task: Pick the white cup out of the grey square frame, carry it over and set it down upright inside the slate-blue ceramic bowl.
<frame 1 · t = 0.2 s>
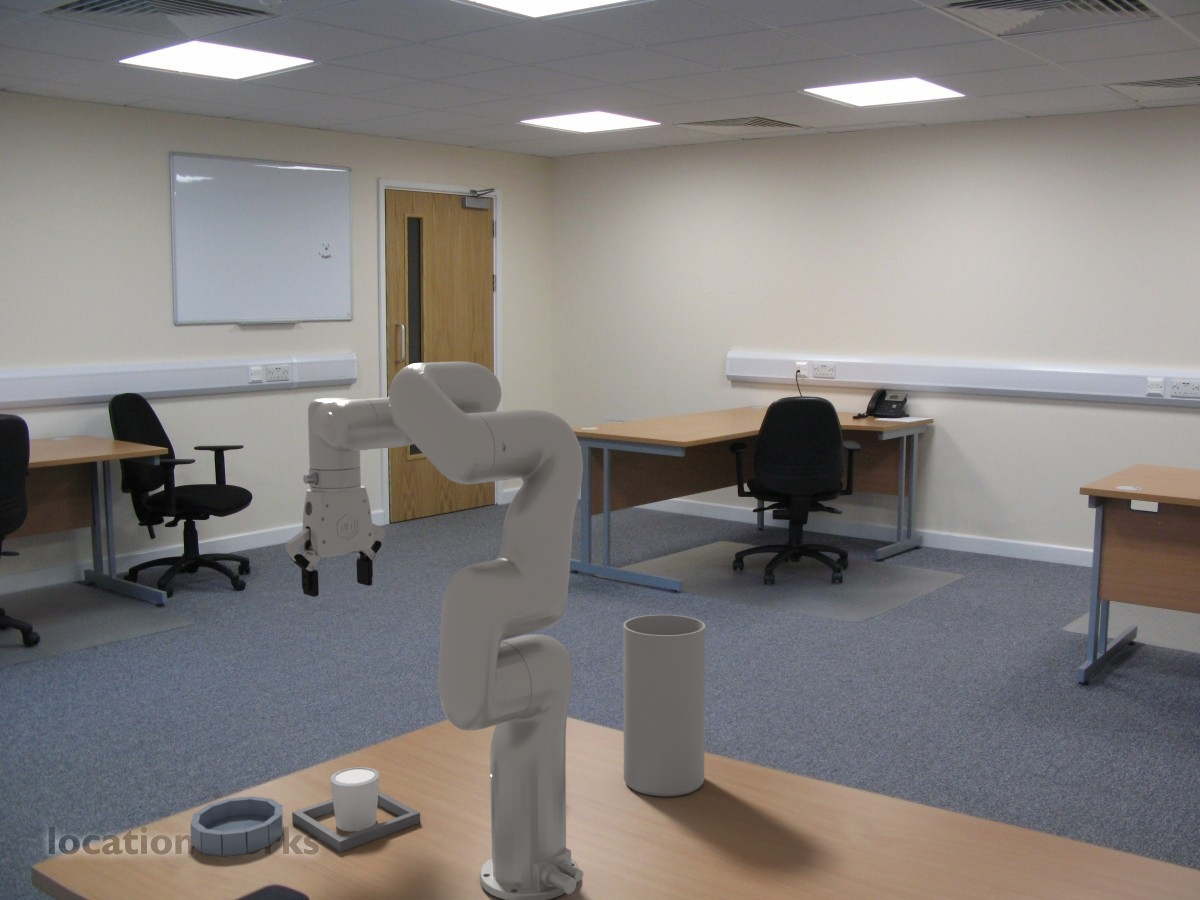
hand: (338, 589, 170), 30 cm above the table, tool pointing down, fingers open, 9 cm apart
bowl: (238, 835, 155), on the table
grey square frame: (356, 822, 159), on the table
cylinder vase: (663, 783, 172), on the table
white cup: (356, 824, 159), resting in grey square frame
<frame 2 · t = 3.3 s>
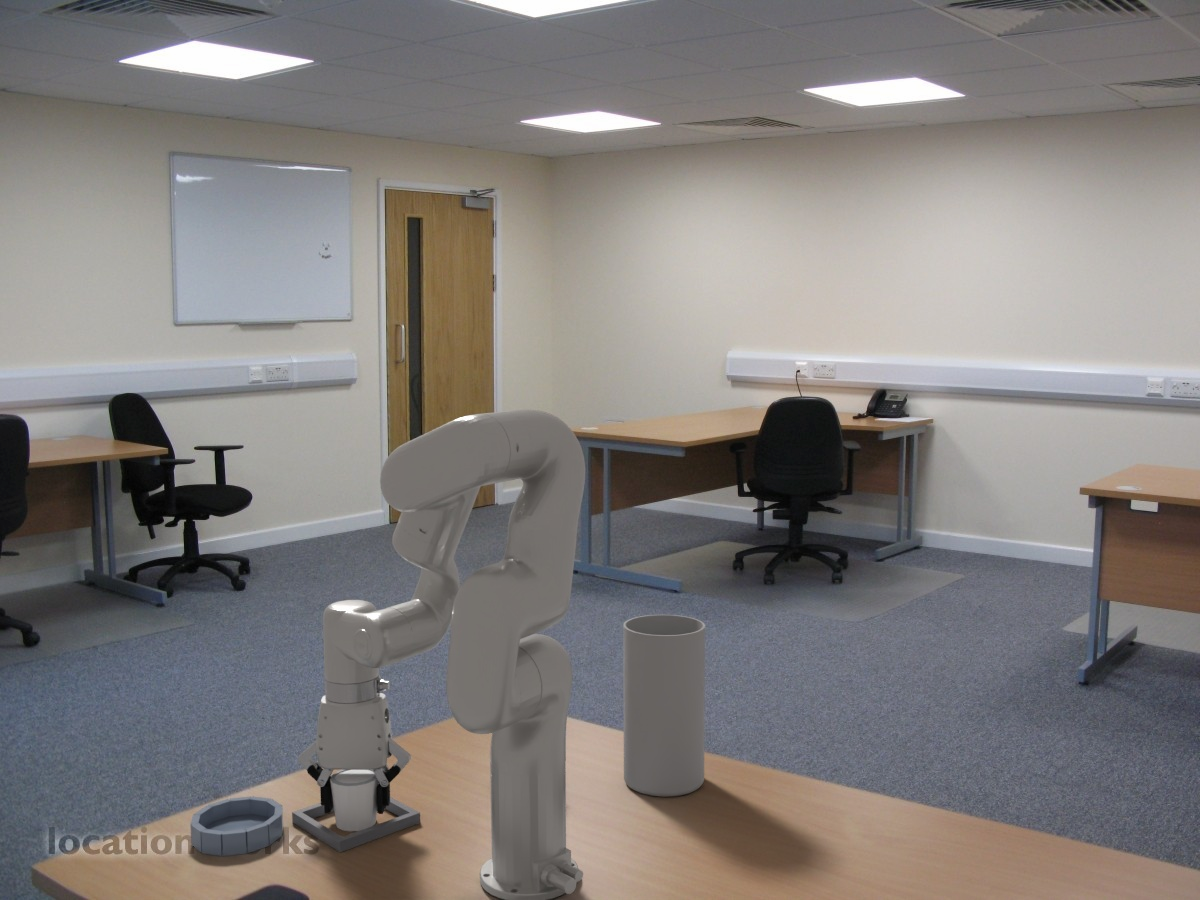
hand: (355, 808, 158), 2 cm above the table, tool pointing down, fingers closed on white cup, 6 cm apart
white cup: (356, 824, 159), resting in grey square frame, touching gripper
everything else where it was.
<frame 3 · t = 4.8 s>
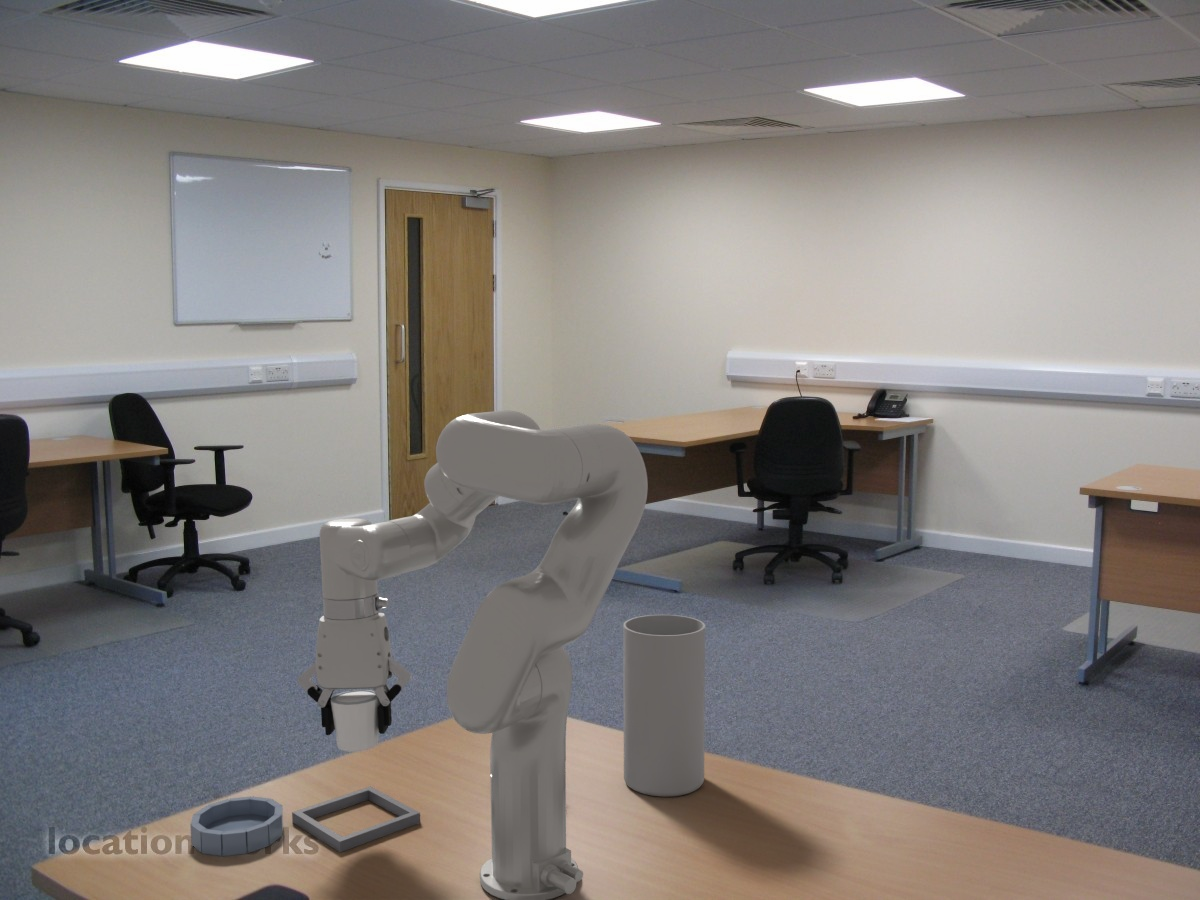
hand: (357, 730, 157), 14 cm above the table, tool pointing down, fingers closed on white cup, 6 cm apart
white cup: (358, 745, 157), point 12 cm above the table, touching gripper
everything else where it was.
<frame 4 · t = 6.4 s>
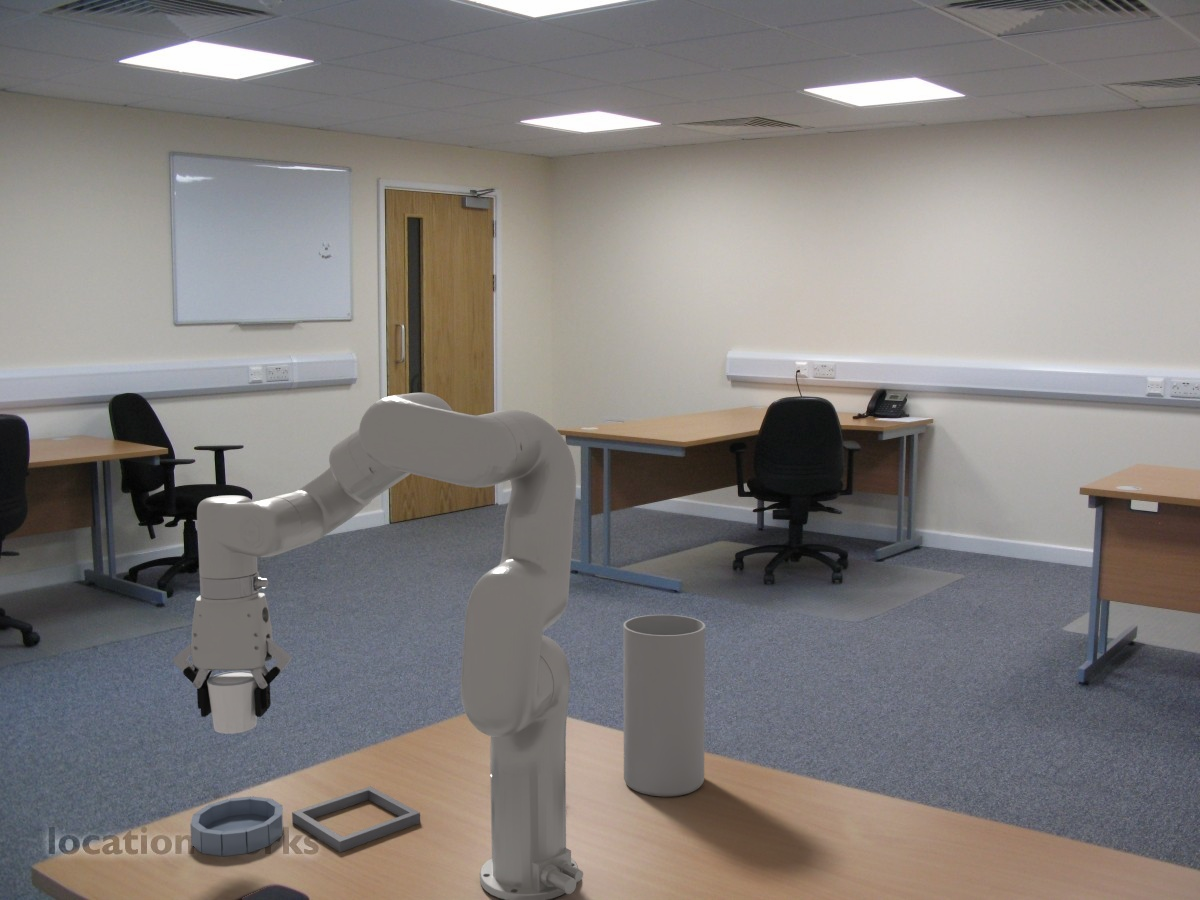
hand: (234, 712, 153), 18 cm above the table, tool pointing down, fingers closed on white cup, 6 cm apart
white cup: (235, 728, 153), point 15 cm above the table, touching gripper
everything else where it was.
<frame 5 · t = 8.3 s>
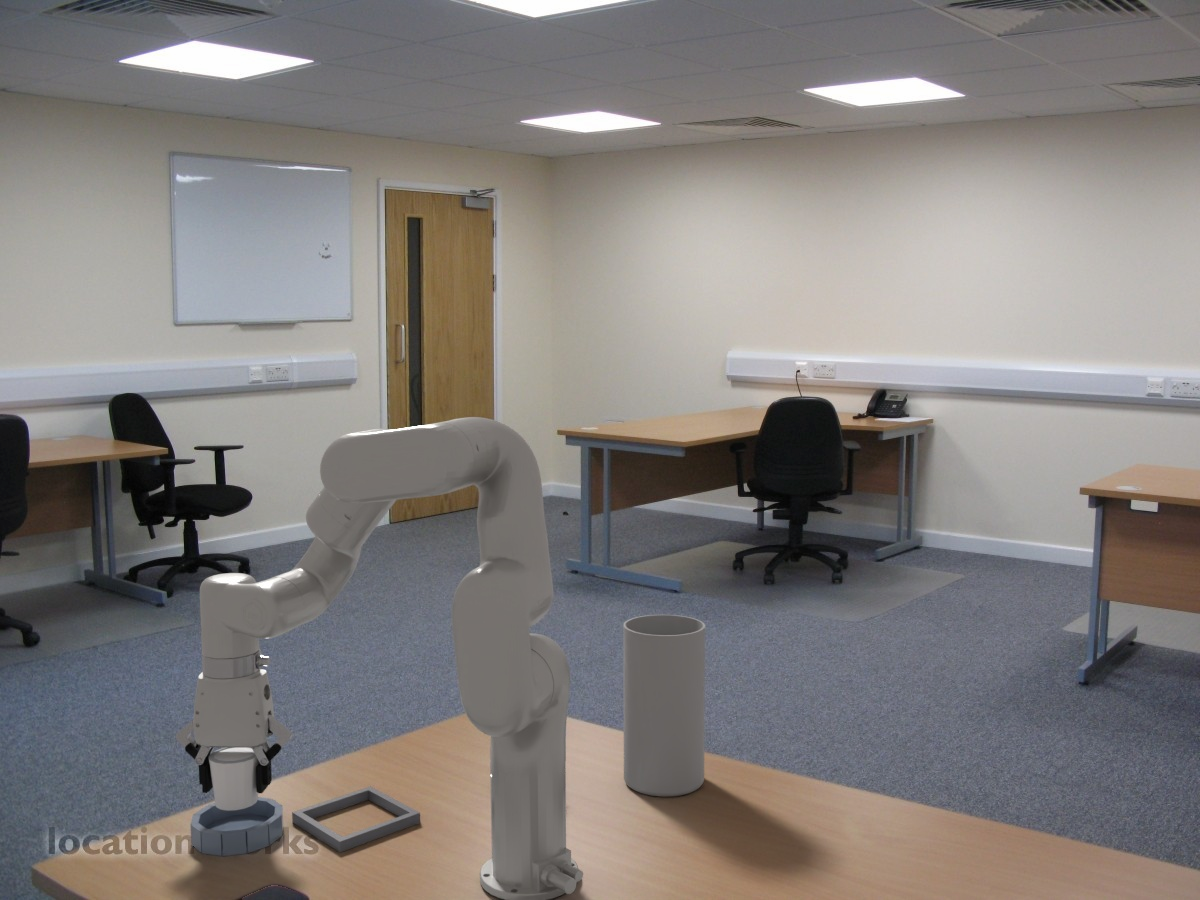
hand: (235, 788, 154), 7 cm above the table, tool pointing down, fingers closed on white cup, 6 cm apart
white cup: (236, 803, 154), point 5 cm above the table, touching gripper
everything else where it was.
when the fingers open (4 cm above the table, at t = 9.9 s): white cup drops 1 cm, resting on bowl.
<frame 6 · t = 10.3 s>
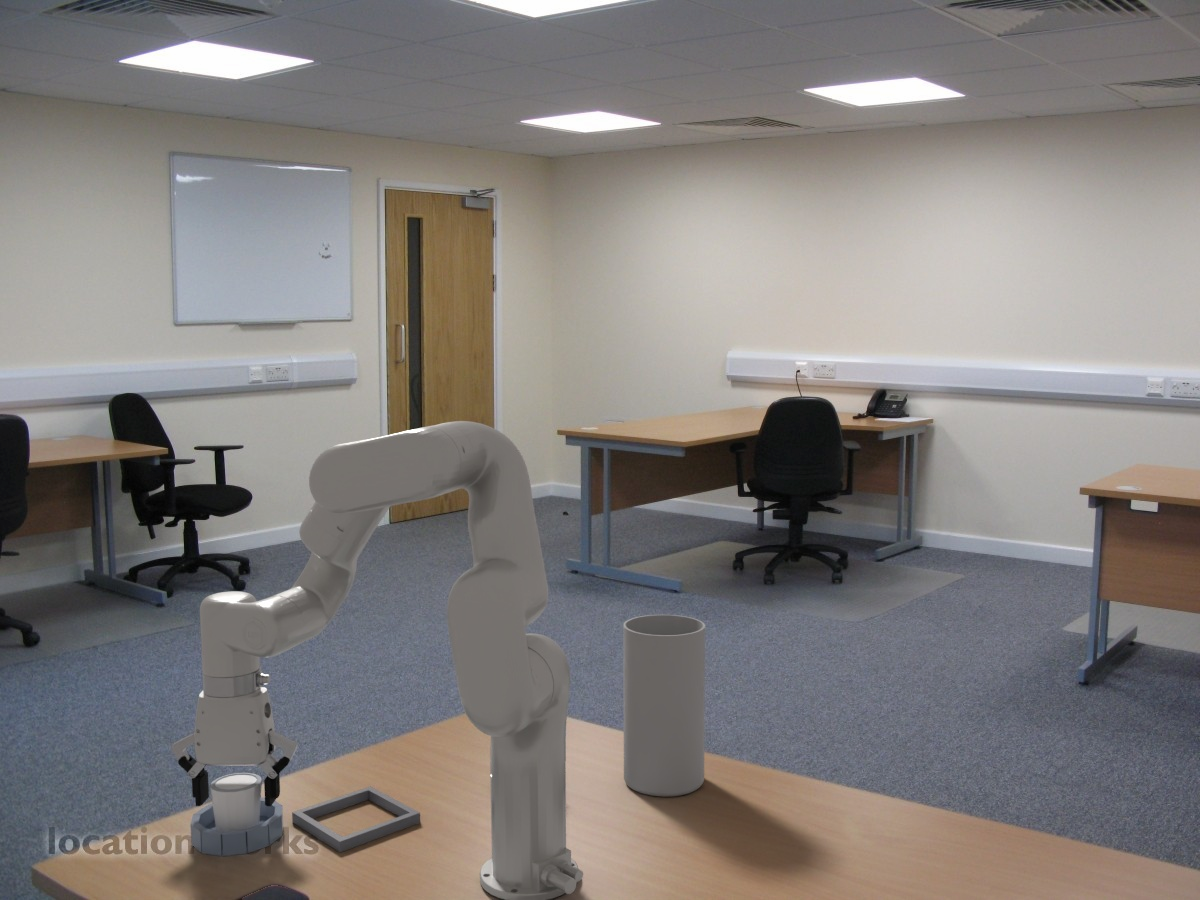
hand: (236, 802, 154), 5 cm above the table, tool pointing down, fingers open, 9 cm apart
white cup: (237, 831, 155), point 1 cm above the table, touching bowl
everything else where it was.
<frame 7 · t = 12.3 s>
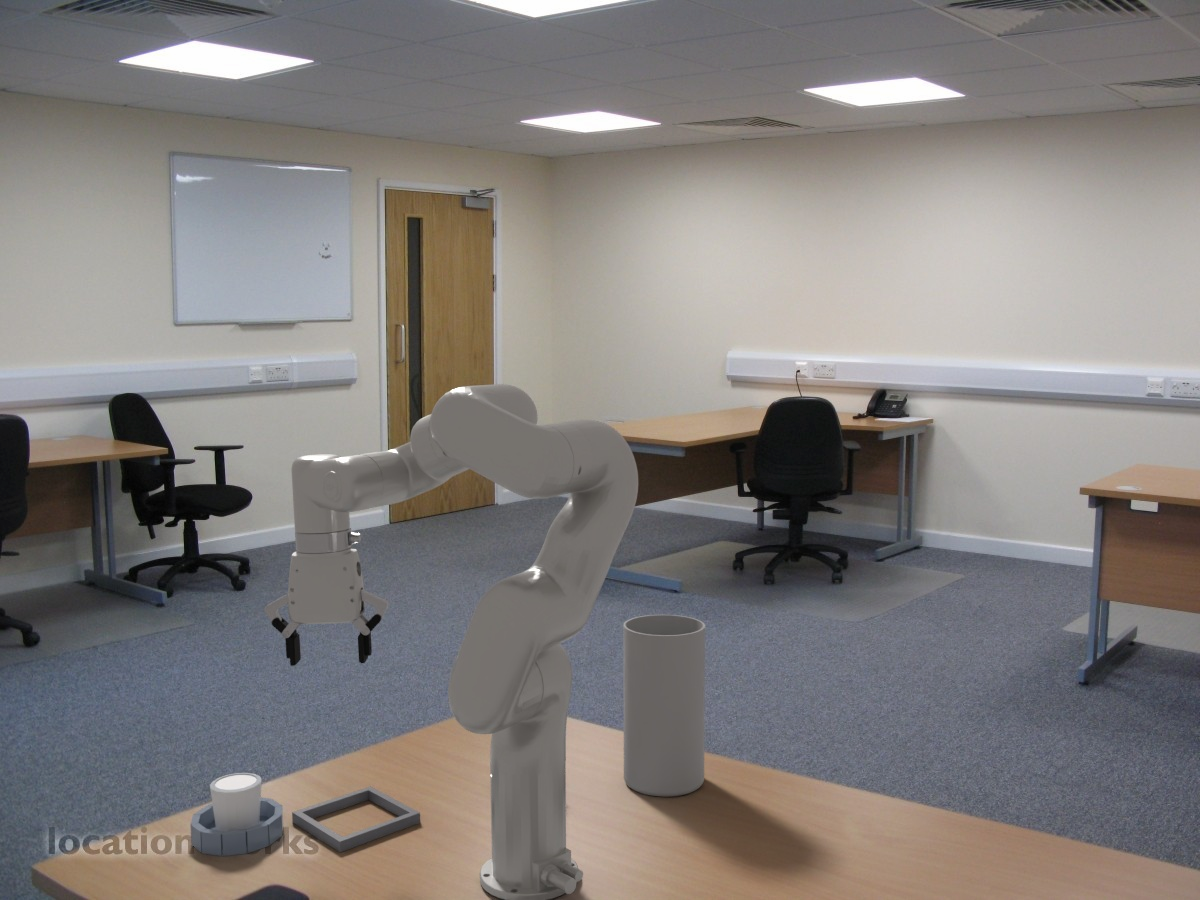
hand: (329, 661, 157), 23 cm above the table, tool pointing down, fingers open, 9 cm apart
nothing on the table moved.
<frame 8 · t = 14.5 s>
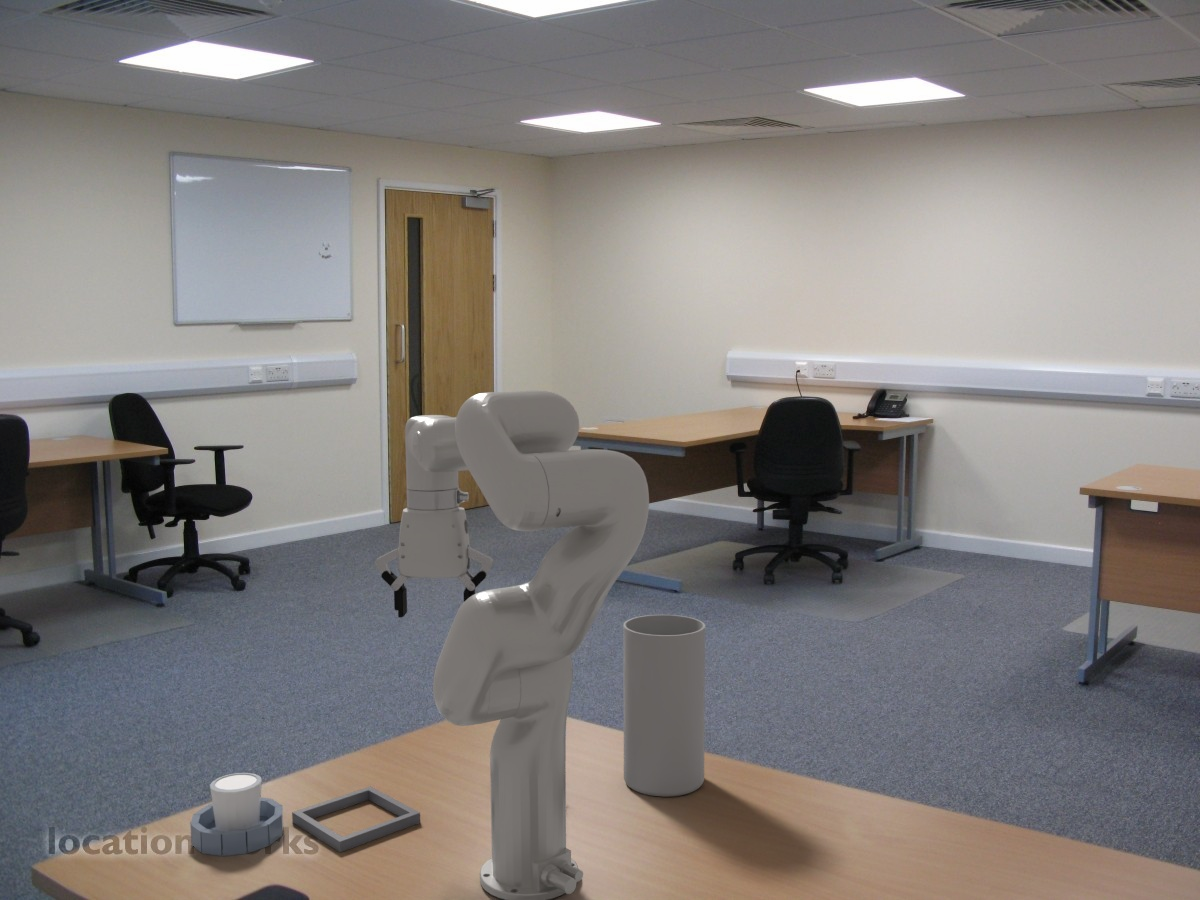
hand: (435, 615, 163), 28 cm above the table, tool pointing down, fingers open, 9 cm apart
nothing on the table moved.
at the end: white cup 0.0 cm off-centre on the bowl, point 0.6 cm above the bowl's base; white cup tilted 0°; the gripper is holding nothing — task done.
